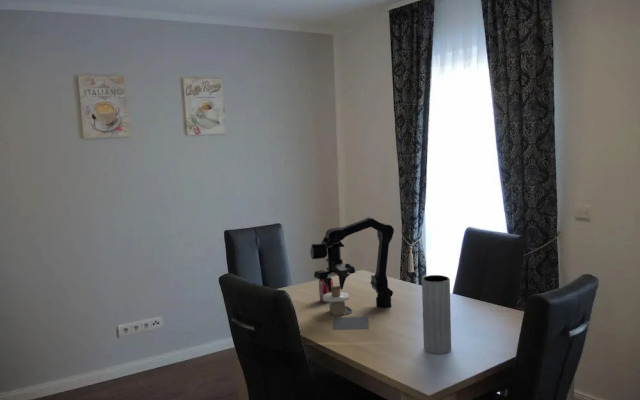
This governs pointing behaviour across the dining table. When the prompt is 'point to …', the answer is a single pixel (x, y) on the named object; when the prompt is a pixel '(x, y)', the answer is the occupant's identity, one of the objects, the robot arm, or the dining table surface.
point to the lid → (335, 295)
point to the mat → (350, 323)
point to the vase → (436, 314)
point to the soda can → (324, 289)
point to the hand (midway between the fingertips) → (335, 290)
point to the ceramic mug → (339, 308)
